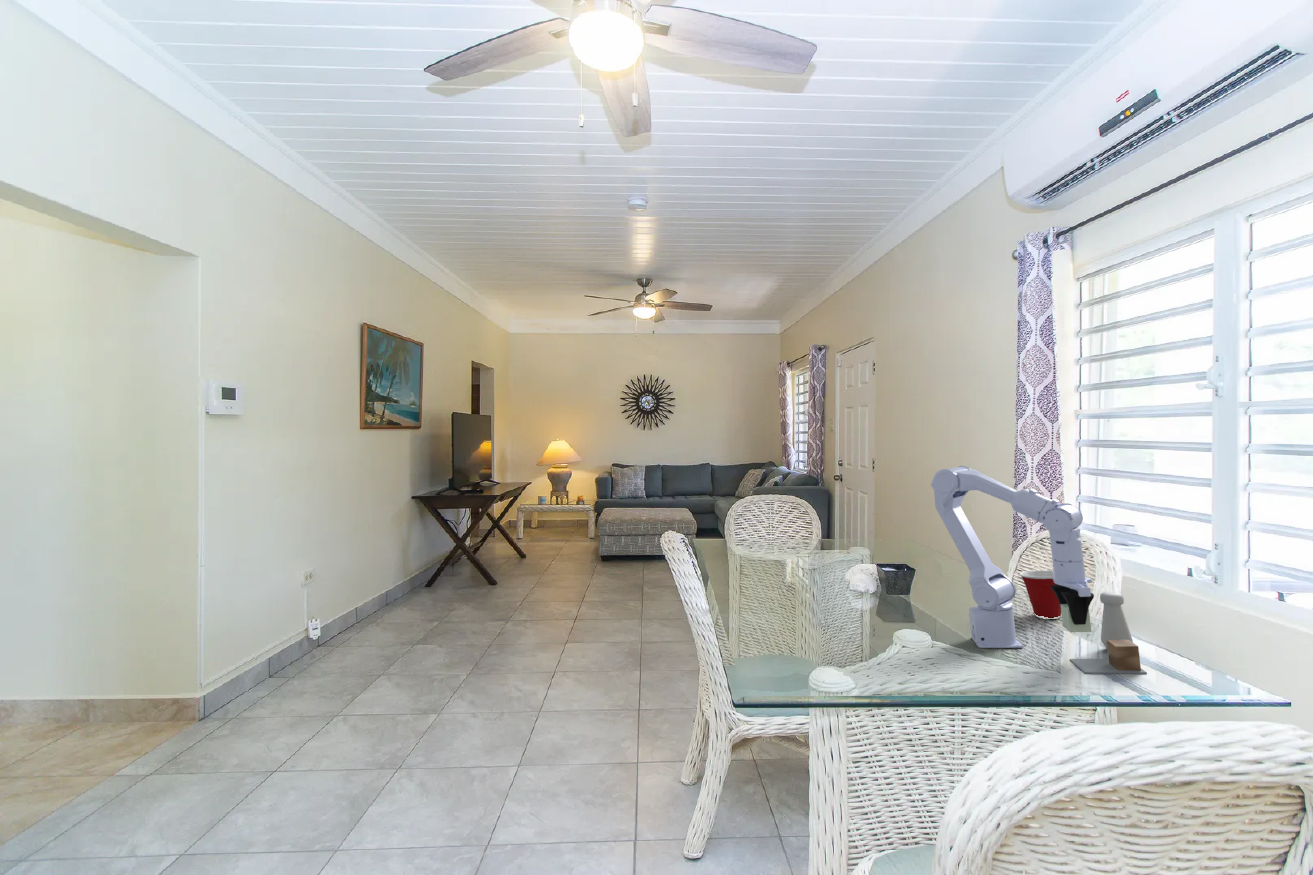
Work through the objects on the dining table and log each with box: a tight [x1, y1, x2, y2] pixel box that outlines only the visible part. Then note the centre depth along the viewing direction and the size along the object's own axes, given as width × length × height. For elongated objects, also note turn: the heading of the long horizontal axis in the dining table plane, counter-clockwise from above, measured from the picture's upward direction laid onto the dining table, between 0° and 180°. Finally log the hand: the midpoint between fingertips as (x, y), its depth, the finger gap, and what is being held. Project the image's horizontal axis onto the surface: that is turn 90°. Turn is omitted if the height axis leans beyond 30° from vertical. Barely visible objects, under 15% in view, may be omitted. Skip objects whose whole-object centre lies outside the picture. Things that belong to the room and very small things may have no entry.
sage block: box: [1060, 604, 1092, 633], centre depth 131 cm, size 4×4×5 cm
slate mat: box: [1069, 658, 1148, 675], centre depth 125 cm, size 11×8×1 cm
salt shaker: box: [1099, 591, 1134, 651], centre depth 133 cm, size 6×6×13 cm
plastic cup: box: [1019, 570, 1062, 618], centre depth 159 cm, size 11×11×12 cm
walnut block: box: [1107, 640, 1142, 671], centre depth 124 cm, size 4×4×5 cm
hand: (1074, 620), depth 131 cm, fingers closed on sage block, 4 cm apart
